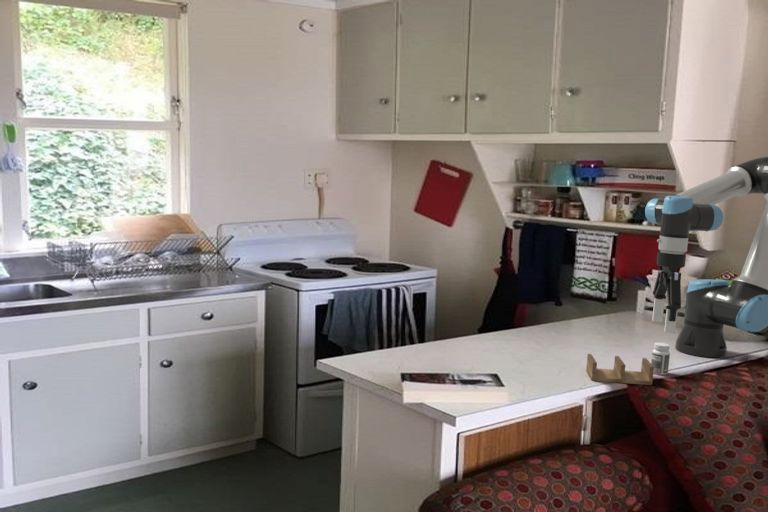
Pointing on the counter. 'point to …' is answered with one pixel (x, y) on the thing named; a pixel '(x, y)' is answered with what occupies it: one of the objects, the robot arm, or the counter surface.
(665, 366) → the pill bottle
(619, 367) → the rack
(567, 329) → the counter surface
